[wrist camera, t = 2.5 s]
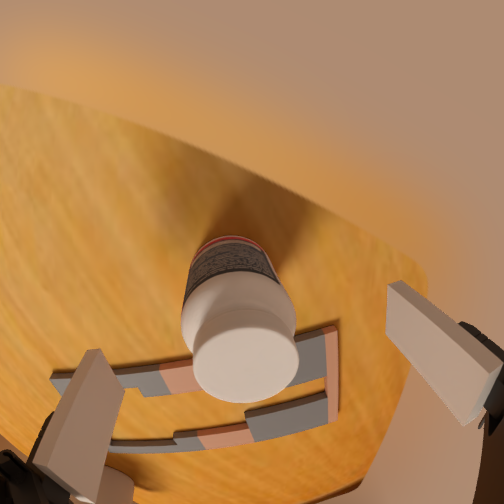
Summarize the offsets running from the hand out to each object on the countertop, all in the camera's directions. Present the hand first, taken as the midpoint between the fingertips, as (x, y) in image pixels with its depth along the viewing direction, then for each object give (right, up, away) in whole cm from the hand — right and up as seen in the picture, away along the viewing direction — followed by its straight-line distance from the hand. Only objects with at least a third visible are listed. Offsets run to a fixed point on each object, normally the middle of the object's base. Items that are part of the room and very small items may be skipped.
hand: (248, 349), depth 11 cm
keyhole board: (-5, -10, +10) cm, 15 cm away
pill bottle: (-1, +3, +7) cm, 7 cm away
